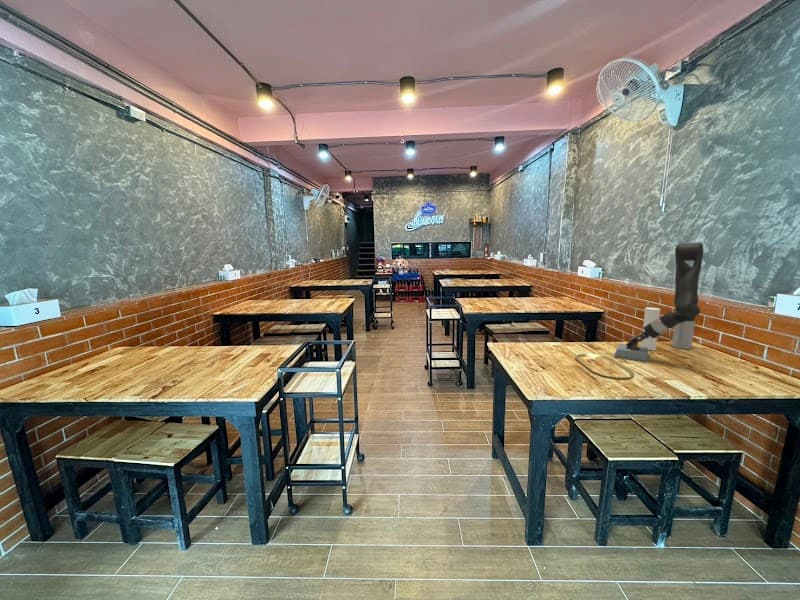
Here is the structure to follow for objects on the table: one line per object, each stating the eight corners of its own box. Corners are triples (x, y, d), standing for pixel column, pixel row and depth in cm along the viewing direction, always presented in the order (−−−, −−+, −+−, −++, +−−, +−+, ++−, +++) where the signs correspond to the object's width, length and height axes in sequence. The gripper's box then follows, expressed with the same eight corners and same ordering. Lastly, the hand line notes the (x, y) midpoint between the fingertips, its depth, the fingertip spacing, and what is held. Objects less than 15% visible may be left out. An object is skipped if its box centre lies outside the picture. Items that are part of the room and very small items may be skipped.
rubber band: (603, 356, 191) (603, 354, 191) (642, 380, 157) (643, 377, 156) (569, 356, 192) (569, 353, 192) (600, 380, 158) (601, 376, 158)
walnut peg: (628, 351, 192) (629, 334, 191) (636, 352, 190) (638, 336, 188) (627, 352, 189) (629, 336, 187) (636, 354, 187) (638, 337, 185)
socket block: (616, 350, 201) (617, 342, 200) (649, 355, 191) (650, 347, 190) (613, 357, 188) (614, 349, 188) (649, 363, 179) (649, 354, 178)
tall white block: (655, 348, 203) (659, 308, 199) (656, 351, 197) (661, 310, 193) (640, 347, 207) (644, 307, 203) (641, 350, 201) (645, 309, 197)
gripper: (656, 320, 185) (628, 337, 196) (646, 324, 176) (619, 341, 188) (666, 331, 181) (638, 348, 193) (658, 335, 173) (629, 353, 184)
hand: (629, 344), depth 190 cm, fingers closed on walnut peg, 4 cm apart
